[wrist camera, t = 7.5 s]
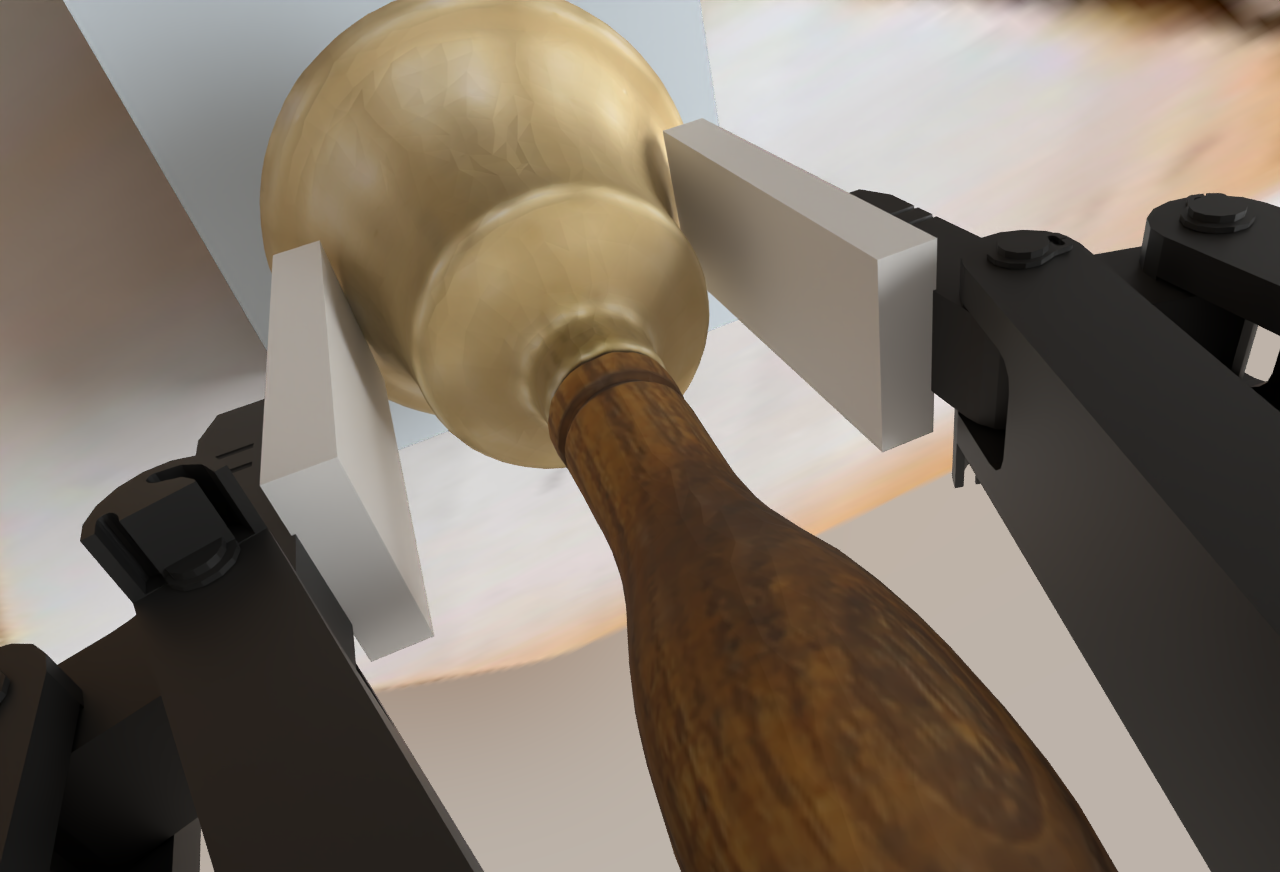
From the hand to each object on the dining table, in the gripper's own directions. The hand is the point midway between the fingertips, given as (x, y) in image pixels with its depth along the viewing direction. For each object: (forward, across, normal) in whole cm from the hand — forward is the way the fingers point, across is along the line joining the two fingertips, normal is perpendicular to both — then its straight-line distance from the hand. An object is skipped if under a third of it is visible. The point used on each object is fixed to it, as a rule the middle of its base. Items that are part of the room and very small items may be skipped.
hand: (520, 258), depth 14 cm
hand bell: (+2, 0, 0) cm, 2 cm away
